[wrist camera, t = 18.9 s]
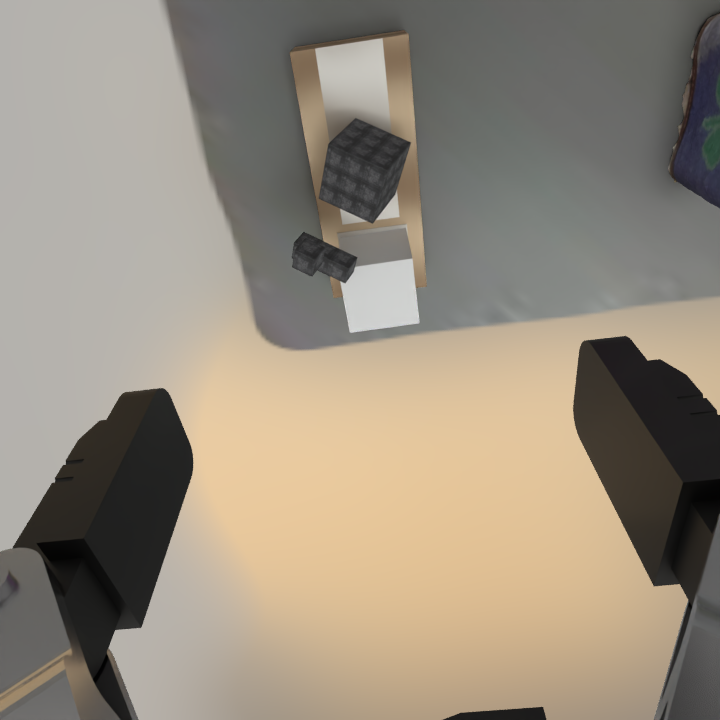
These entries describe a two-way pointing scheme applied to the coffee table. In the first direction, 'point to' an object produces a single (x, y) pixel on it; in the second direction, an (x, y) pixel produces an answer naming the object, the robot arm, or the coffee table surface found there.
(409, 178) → the frame
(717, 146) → the flask
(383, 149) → the building blocks
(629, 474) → the robot arm
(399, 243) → the grey block
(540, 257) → the coffee table surface
